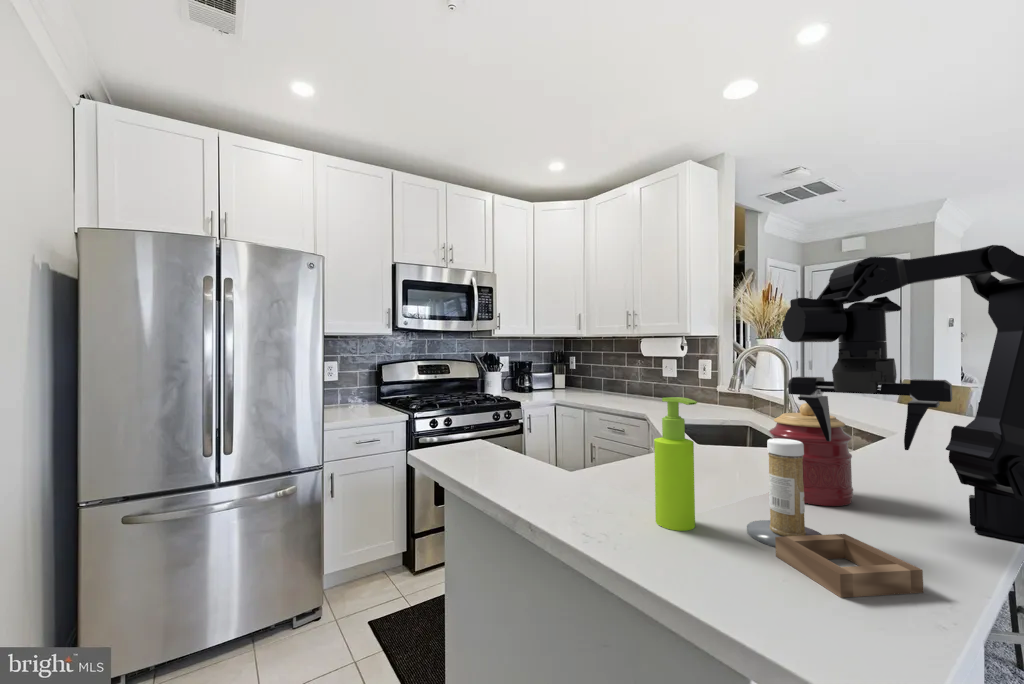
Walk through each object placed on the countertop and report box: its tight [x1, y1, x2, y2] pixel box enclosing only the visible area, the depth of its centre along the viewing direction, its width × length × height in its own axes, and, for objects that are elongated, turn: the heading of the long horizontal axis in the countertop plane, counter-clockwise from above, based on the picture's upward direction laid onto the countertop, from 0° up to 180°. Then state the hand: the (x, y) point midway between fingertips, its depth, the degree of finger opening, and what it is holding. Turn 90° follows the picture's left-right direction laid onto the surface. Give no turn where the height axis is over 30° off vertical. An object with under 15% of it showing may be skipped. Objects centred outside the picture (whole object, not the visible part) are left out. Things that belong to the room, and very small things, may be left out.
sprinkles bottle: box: [766, 438, 806, 536], centre depth 63 cm, size 5×5×14 cm
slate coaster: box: [746, 519, 823, 548], centre depth 63 cm, size 10×10×1 cm
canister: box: [768, 402, 854, 507], centre depth 82 cm, size 13×13×18 cm
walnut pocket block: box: [775, 533, 924, 599], centre depth 52 cm, size 10×10×2 cm
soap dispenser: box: [653, 396, 698, 532], centre depth 68 cm, size 6×7×20 cm
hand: (865, 445), depth 65 cm, fingers open, 9 cm apart
